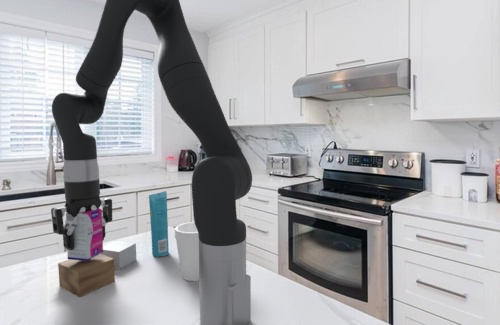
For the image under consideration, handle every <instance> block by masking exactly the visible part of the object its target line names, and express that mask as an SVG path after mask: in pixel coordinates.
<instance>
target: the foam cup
mask: <svg viewBox="0 0 500 325" xmlns="http://www.w3.org/2000/svg"><path fill="white" fill-rule="evenodd" d="M174 239H175V242H176V248H177V254H178V261H179V266H180V272H181V277H182V279H183V280H185V281H188V282H189V281H190V282H196V281H199V235H198V230H197V228H196V226H195V222H194V221H192V222H191V221H190V222H185V223H180V224H178V225H176V226H175V228H174Z"/></svg>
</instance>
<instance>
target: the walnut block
mask: <svg viewBox="0 0 500 325" xmlns="http://www.w3.org/2000/svg"><path fill="white" fill-rule="evenodd" d="M57 267H58V268H57V269H58V280H59V282H58V283H59V284H58V285H59V288H61V289H63V290H65V291H67V292H68V293H71V294H73V295H75V296H76V297H79V298H81V297H84V296H85V295H88V294H90V293H92V292H95V291H97V290H99V289H101V288H104V287H106V286H108V285H111V284H113V283H115V282H116V274H115V269H114V259H113V258H111V257H108V256H105V255H102V254H99V255H97V256H95V257H93V258H91V259H90V260H88V261H81V260H69V259H66V260H64V261H61V262H57Z"/></svg>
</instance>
